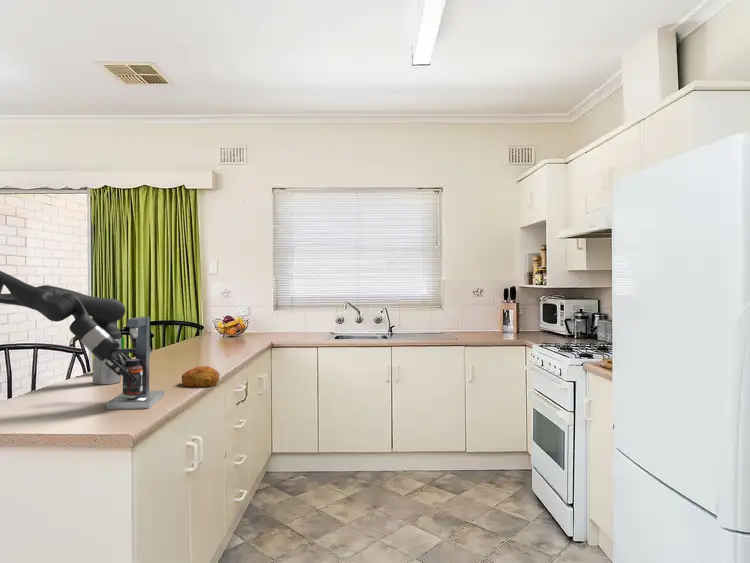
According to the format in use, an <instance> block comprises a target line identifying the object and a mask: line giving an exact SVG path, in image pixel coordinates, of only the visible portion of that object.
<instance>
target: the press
mask: <svg viewBox="0 0 750 563" xmlns="http://www.w3.org/2000/svg"><path fill="white" fill-rule="evenodd" d="M150 320H151V318H150V316H136V317H133V318H127V324H126V327H127V328H129V339H135V349H136V353H135V359H139V362H140V363H139V364H140V366H142V369H143V375H144V376H143V377H142V393H141V394H139V395H133V396H126V395H123V392H122V393H119V395H117V396H115V397H114V398H112V399H110V400H108V401H107V402H106V403H105V410H129V409H130V410H132V409H133V410H136V409H137V410H138V409H150V408H152V407H153V406H154V405H155V404H157V403H158V402H159V401H160V400H162V399H163V398H164V397H165V390H150V354H149V347H151V346H150V344H151V343H150V335H151V333H150V329H151V328H150V326H151V324H150Z"/></svg>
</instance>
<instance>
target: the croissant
mask: <svg viewBox="0 0 750 563" xmlns="http://www.w3.org/2000/svg"><path fill="white" fill-rule="evenodd" d="M219 379H220V373H219V372H218V370H216V369H215V368H214V367H211V366H209V365H208V366H207V365H200V366H199V365H198V366H195V367H193V368H191V369H189V370H187V371H185V372H184V373H183V374H182V375H181V382H182V385H183V386H185V387H189V388H207V387H208V388H210V387H214V386H215V385H216V384H218V383H219V381H220V380H219Z"/></svg>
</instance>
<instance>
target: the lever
mask: <svg viewBox="0 0 750 563" xmlns="http://www.w3.org/2000/svg"><path fill="white" fill-rule="evenodd" d="M118 351H119V352H120V353H124V352H126V353H127V354H136V348H124V349H118ZM151 353H152V348H151V346H150V347H149V355H151Z"/></svg>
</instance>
